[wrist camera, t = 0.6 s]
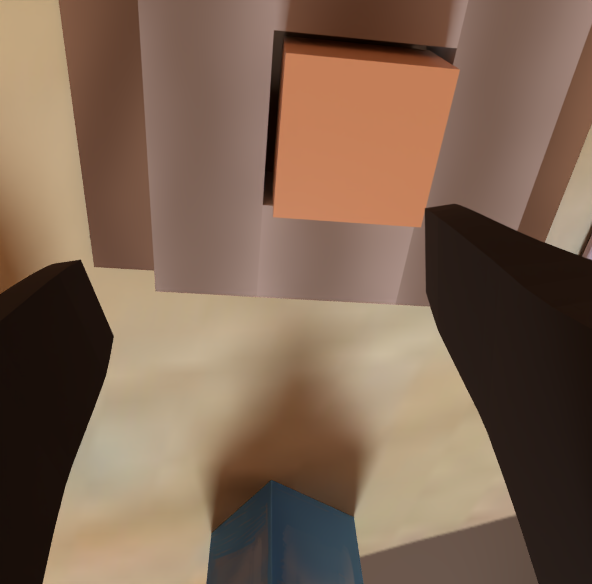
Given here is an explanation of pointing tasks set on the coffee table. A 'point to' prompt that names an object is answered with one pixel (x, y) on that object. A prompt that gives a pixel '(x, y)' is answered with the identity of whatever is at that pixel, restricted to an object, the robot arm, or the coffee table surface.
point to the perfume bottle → (285, 542)
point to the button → (358, 131)
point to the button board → (262, 133)
